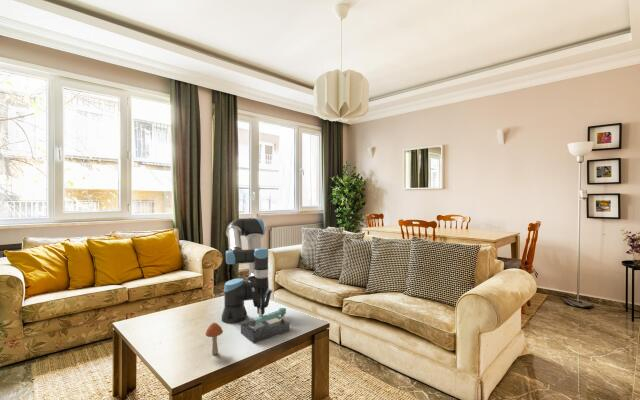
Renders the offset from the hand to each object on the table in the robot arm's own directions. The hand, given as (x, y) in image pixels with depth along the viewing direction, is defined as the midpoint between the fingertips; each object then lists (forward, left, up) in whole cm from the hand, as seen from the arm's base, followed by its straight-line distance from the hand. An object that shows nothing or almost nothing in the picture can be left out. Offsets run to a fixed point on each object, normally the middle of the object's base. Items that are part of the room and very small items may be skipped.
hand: (260, 319), depth 177 cm
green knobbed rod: (+2, +4, 0) cm, 4 cm away
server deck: (0, +3, -8) cm, 8 cm away
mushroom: (+5, -28, -8) cm, 29 cm away
